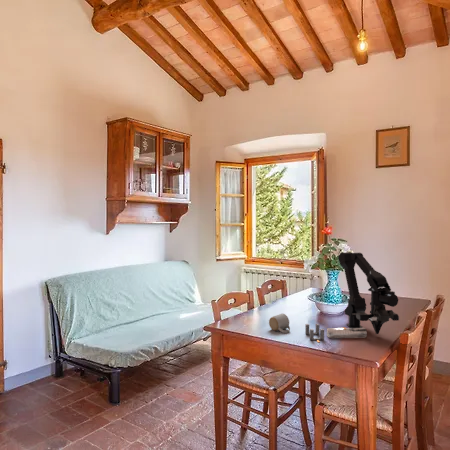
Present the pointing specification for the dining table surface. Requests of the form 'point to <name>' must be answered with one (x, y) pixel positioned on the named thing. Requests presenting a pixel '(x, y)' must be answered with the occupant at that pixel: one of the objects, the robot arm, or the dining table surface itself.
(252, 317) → the dining table surface
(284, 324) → the ceramic mug
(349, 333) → the tube
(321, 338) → the collar rig
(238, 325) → the dining table surface
